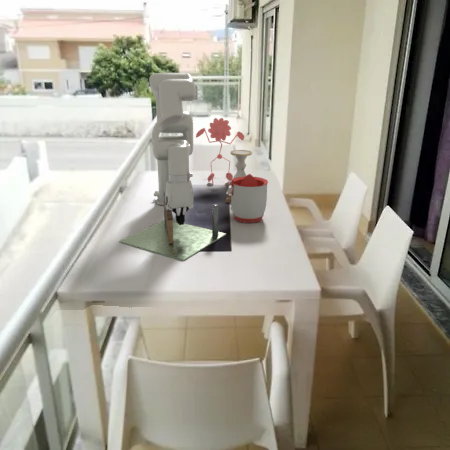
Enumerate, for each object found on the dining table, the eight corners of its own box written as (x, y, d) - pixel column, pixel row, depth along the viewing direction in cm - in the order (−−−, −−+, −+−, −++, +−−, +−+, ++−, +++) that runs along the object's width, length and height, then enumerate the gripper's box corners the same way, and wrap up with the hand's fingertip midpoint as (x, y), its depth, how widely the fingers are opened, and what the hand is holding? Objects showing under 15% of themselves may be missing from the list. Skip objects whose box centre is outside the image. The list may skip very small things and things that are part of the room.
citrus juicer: (224, 213, 195) (224, 169, 188) (263, 212, 197) (264, 169, 189) (228, 226, 181) (228, 179, 173) (269, 225, 182) (271, 178, 175)
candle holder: (225, 202, 210) (225, 153, 201) (233, 196, 219) (234, 148, 211) (247, 205, 206) (248, 155, 197) (254, 198, 215) (256, 150, 207)
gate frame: (119, 242, 164) (116, 206, 159) (166, 220, 186) (164, 188, 181) (183, 261, 149) (182, 222, 144) (226, 234, 172) (226, 200, 167)
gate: (165, 224, 179) (164, 200, 175) (170, 223, 179) (169, 200, 176) (168, 243, 161) (167, 217, 157) (173, 243, 161) (173, 217, 157)
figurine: (244, 184, 239) (245, 119, 228) (197, 185, 236) (196, 119, 224) (239, 177, 254) (240, 115, 242) (195, 179, 250) (194, 116, 238)
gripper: (193, 173, 168) (194, 218, 175) (156, 177, 162) (158, 223, 168) (201, 177, 162) (202, 224, 168) (163, 182, 155) (165, 230, 162)
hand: (180, 223), depth 168 cm, fingers closed
